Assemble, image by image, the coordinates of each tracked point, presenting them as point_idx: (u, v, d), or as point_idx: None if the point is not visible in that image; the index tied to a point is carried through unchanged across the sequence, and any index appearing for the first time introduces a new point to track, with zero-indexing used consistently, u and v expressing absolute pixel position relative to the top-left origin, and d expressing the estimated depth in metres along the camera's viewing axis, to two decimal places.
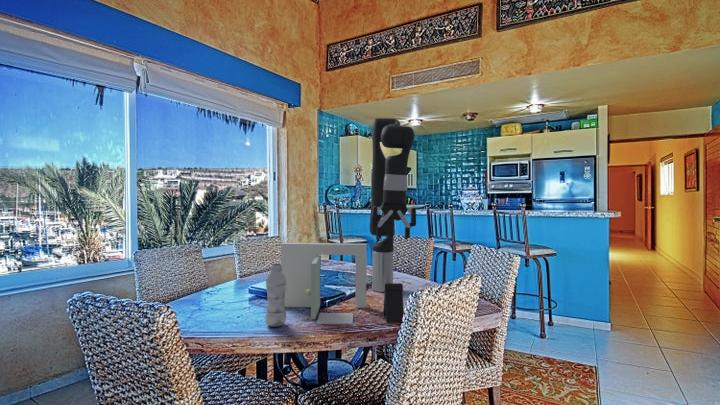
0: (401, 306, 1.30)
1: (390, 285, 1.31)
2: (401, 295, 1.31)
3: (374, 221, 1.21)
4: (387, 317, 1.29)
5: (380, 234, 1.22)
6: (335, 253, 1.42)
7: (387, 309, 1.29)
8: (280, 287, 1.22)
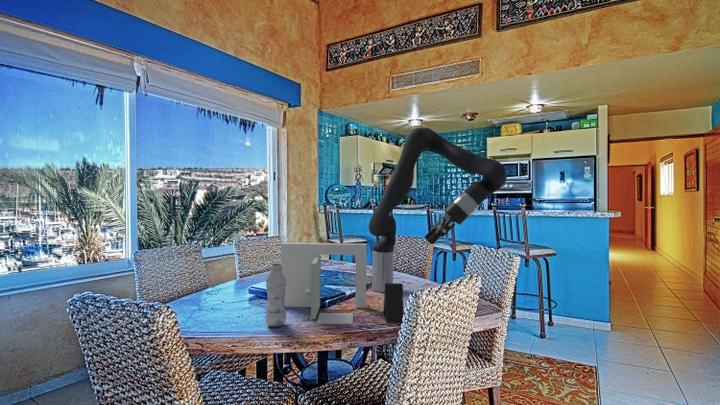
0: (401, 306, 1.30)
1: (390, 285, 1.31)
2: (401, 295, 1.31)
3: None
4: (387, 317, 1.29)
5: None
6: (335, 253, 1.42)
7: (387, 309, 1.29)
8: (280, 288, 1.22)
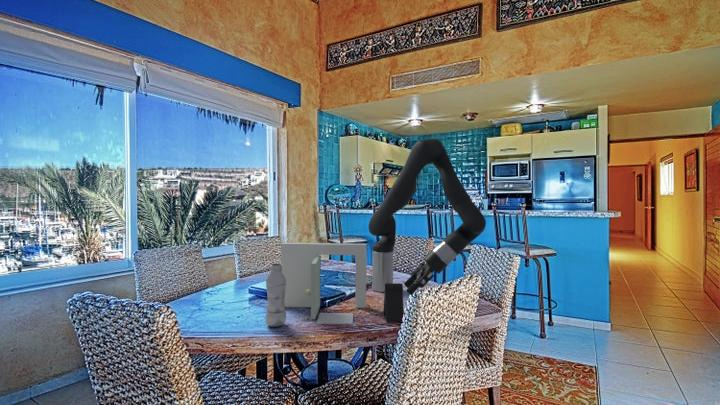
0: (401, 306, 1.30)
1: (390, 285, 1.31)
2: (401, 295, 1.31)
3: None
4: (387, 317, 1.29)
5: None
6: (335, 253, 1.42)
7: (387, 309, 1.29)
8: (280, 287, 1.22)
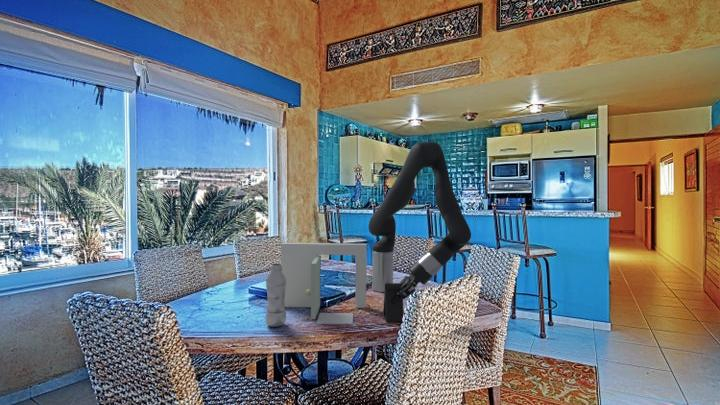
0: (401, 306, 1.30)
1: (390, 285, 1.31)
2: None
3: None
4: (387, 317, 1.29)
5: None
6: (335, 253, 1.42)
7: (387, 309, 1.29)
8: (280, 287, 1.22)
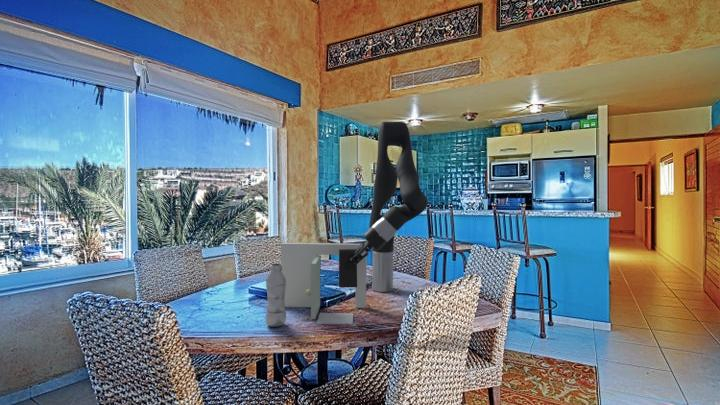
0: (355, 271, 1.28)
1: (344, 250, 1.29)
2: None
3: None
4: (340, 282, 1.26)
5: None
6: (335, 253, 1.42)
7: (340, 274, 1.27)
8: (280, 287, 1.22)
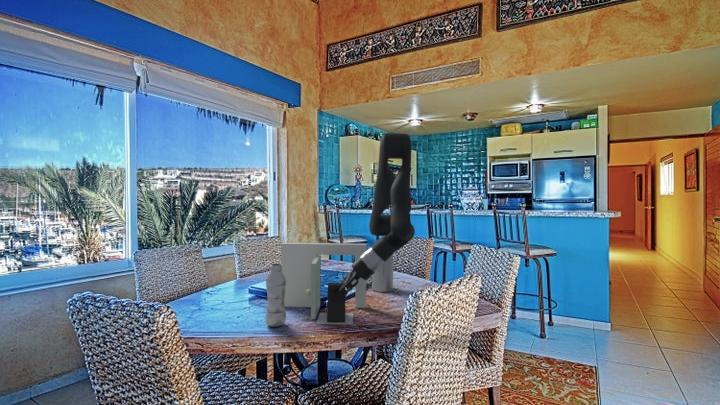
0: (343, 306, 1.28)
1: (332, 285, 1.30)
2: (343, 295, 1.29)
3: None
4: (328, 317, 1.27)
5: None
6: (335, 253, 1.42)
7: (328, 309, 1.28)
8: (280, 287, 1.22)
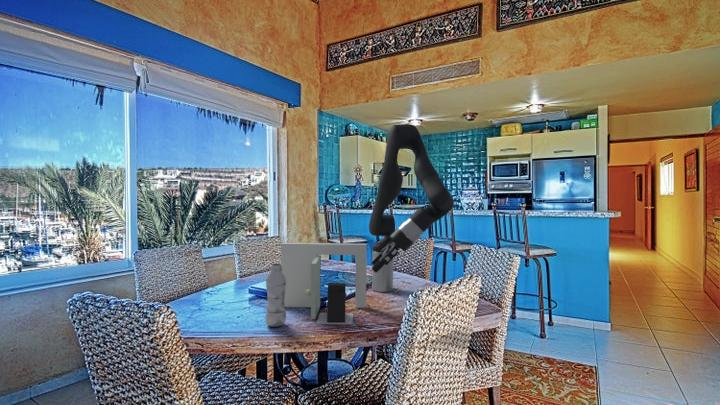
0: (343, 306, 1.28)
1: (332, 285, 1.30)
2: (343, 295, 1.29)
3: None
4: (328, 317, 1.27)
5: (379, 269, 1.26)
6: (335, 253, 1.42)
7: (328, 309, 1.28)
8: (280, 288, 1.22)
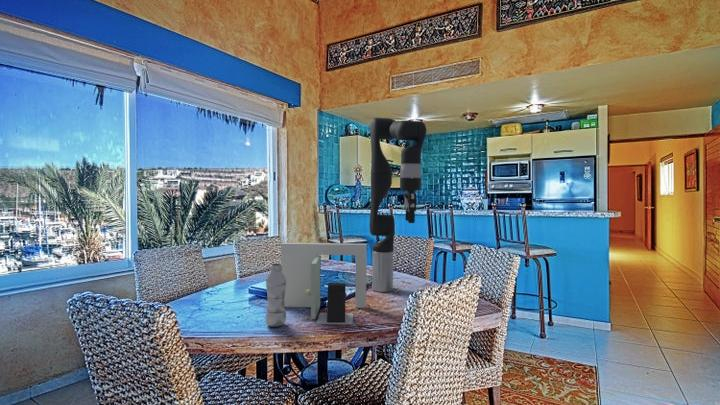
0: (343, 306, 1.28)
1: (332, 285, 1.30)
2: (343, 295, 1.29)
3: (415, 207, 1.31)
4: (328, 317, 1.27)
5: (414, 218, 1.33)
6: (335, 253, 1.42)
7: (328, 309, 1.28)
8: (280, 287, 1.22)
